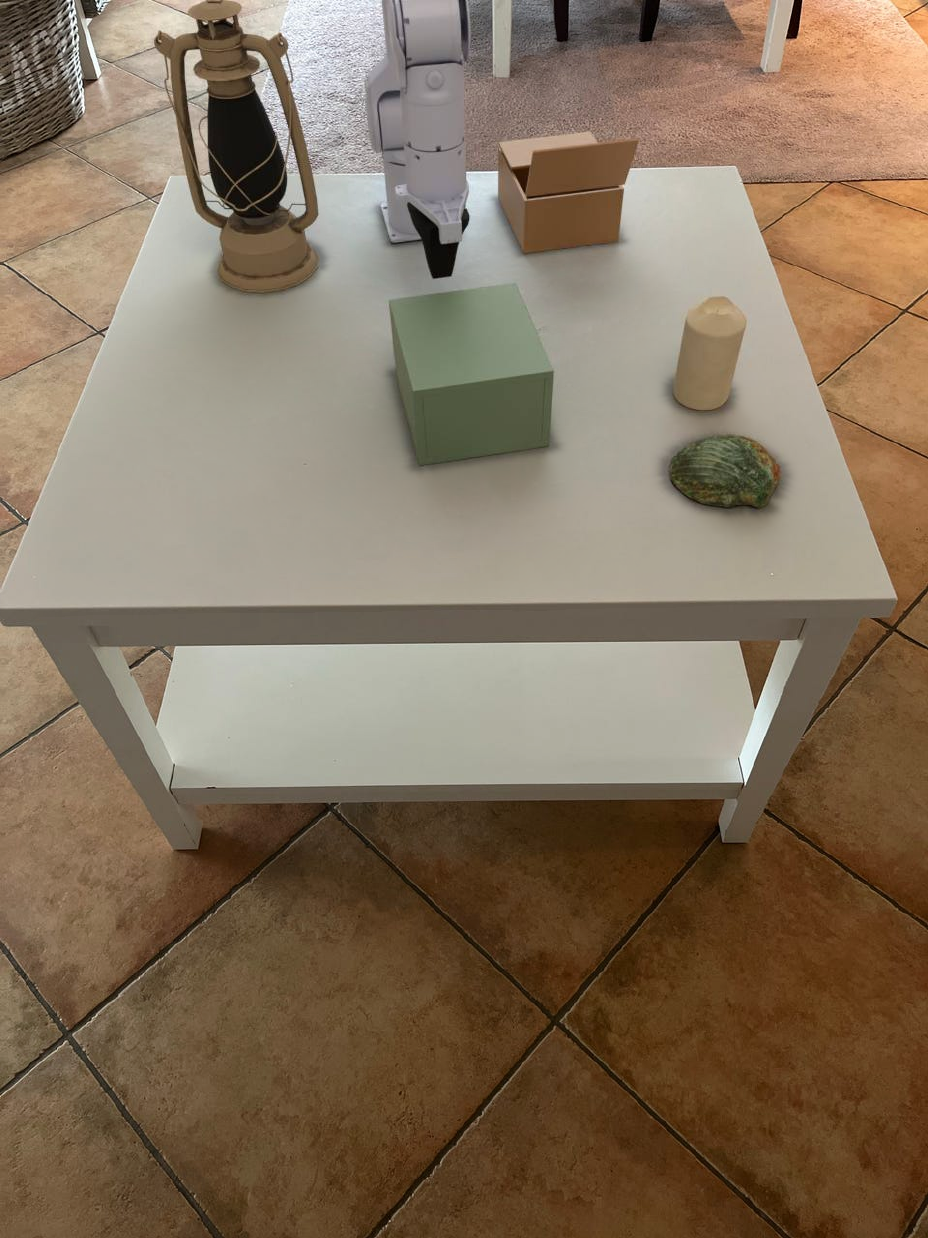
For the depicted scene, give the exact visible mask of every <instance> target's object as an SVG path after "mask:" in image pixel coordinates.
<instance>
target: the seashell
mask: <svg viewBox="0 0 928 1238" xmlns="http://www.w3.org/2000/svg"><path fill="white" fill-rule="evenodd" d="M668 466H669V469H668V471H669V478H670V479H671V481H672V483H673V484H674V486H675V487H676V488H677V489H679V491H680V492H681V493H682V494H684V495H685V496H686V497H688V498H690V499H692V500H693V501H695V502H698V503H700V504H703V505H708V506H713V507H722V508H733V507H735V506H741V505H742V506H743V505H745V506H746V505H749V506H752V507H754V508H757V509H762V508H764V507H765V506H766V505H768V503H769V501H770V500H771V498H772V496H773V494H774V491H775V490H776V489H777V486H778V485H779V483H780V479H781V474H782V471H781V466H780V465H779V464H778V463H777V462H776V459H775V458H774V457H773V456H772V454H771V453H770V452H769V451H768V450H767V448H765V447H764V446H763V445H761V443H759V442H758V441H756V440H755V439H753V438H750V437H746V436H742V435H735V434H714V435H712V436H708V437H704V438H702V439H698V440H694V441H693V442H691V443H689V444H688V445H687V446H685V447H683V448H682V449H680V450H678V452H677V453H676V455H674V456H672V458H671V459H670V464H669V465H668Z"/></svg>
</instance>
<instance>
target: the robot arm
mask: <svg viewBox="0 0 928 1238" xmlns="http://www.w3.org/2000/svg"><path fill="white" fill-rule="evenodd" d="M381 9H382V10H381V11H382V20H383V31H384V41H385V52H386V53H385V55H384V56H383V57H382V59H380V60H379V62H377V63H376V65H375V66H374V67H373V68H372V69H371V70H369V72H368V73H367V75H366V80H365V81H364V88H365V89H364V90H365V111H366V120H367V127H368V128H367V129H368V136H369V143H370V148H371V149H372V150H373V151H374V152H375V154H381V156H382V164H383V173H384V174H383V175H384V185H385V196H386V201H384V202H381V203H380V205H379V206H380V210H381V214H382V217H383V221H384V225H385V227H386V231H387V235H388V238H389V241H390V242H391V243H395V244H396V243H402V242H411V241H417V240H421V243H422V247H423V251H424V256H425V259H426V260H425V261H426V264H427V268H428V270H429V273H430V276H431V278H432V279H433V280H436V279H444V278H451V277H452V276H453V274H454V269H455V265H456V260H457V259H456V258H457V254H458V249H459V245H460V243H461V242H463V234H464V233H465V231H466V229H467V228H468V226H469V223H470V216H471V215H470V213H469V210H468V208H466V206H467V205H466V203H467V200H468V197H469V193H470V188H469V187H470V186H469V181H468V180H467V148H466V147H467V146H466V145H467V144H466V143H467V142H466V107H465V106H466V103H465V101H466V99H465V64H464V61H465V62H468V60H469V58H470V51H471V50H470V49H471V41H472V40H471V37H472V33H471V32H472V31H471V26H472V25H471V13H470V5H469V0H381ZM462 56H463V59H462V58H461V57H462ZM463 60H464V61H463Z"/></svg>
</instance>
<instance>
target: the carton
mask: <svg viewBox="0 0 928 1238" xmlns="http://www.w3.org/2000/svg"><path fill="white" fill-rule="evenodd" d="M593 143H599V141H598V140H597V139H596V138H595V136H594V134H593V133H592V132H591V131H583V132H576V133H575V132H574V133H568V134H558V135H550V136H549V135H548V136H542V137H533V138H524V139H515V140H506V141H499V142H498V146H499V147H498V148H497V200H498V202H499V204H500V206H501V208H502V211H503V213H504V215H505V217H506V219H507V221H508V224H509V226H510V228H511V231H512V232H513V235H514V236H515V240H516V241H517V243H518V245H519V247H520V250H521V251H522V254H523V255H524V254H532V253H539V252H540V253H541V252H546V251H547V252H548V251H556V250H561V249H562V250H563V249H571V248H578V247H586V246H593V245H600V244H608V243H609V244H610V243H617V242H619V238H620V229H621V220H622V211H623V202H624V195H625V193H624V192H625V187H624V186H623V185H617V186H609V187H601V188H593V189H585V190H577V191H569V192H561V193H553V194H545V195H537V196H529V197H526V196H525V193H526V187H527V182H528V176H529V171H530V165H531V159H532V154H533V151H534V150H543V149H551V148H560V147H568V146H576V145H585V144H593Z"/></svg>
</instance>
